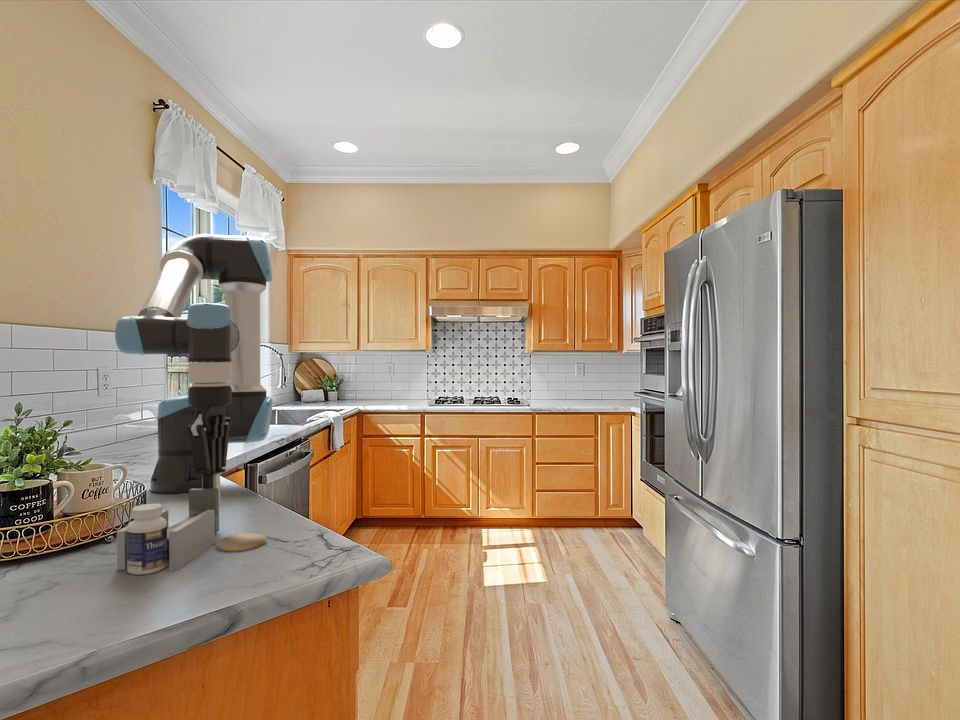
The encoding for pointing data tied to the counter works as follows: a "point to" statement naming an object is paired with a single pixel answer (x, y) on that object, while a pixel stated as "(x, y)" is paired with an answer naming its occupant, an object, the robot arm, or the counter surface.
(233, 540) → the coaster
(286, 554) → the counter surface
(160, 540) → the pill bottle
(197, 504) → the sliding block
